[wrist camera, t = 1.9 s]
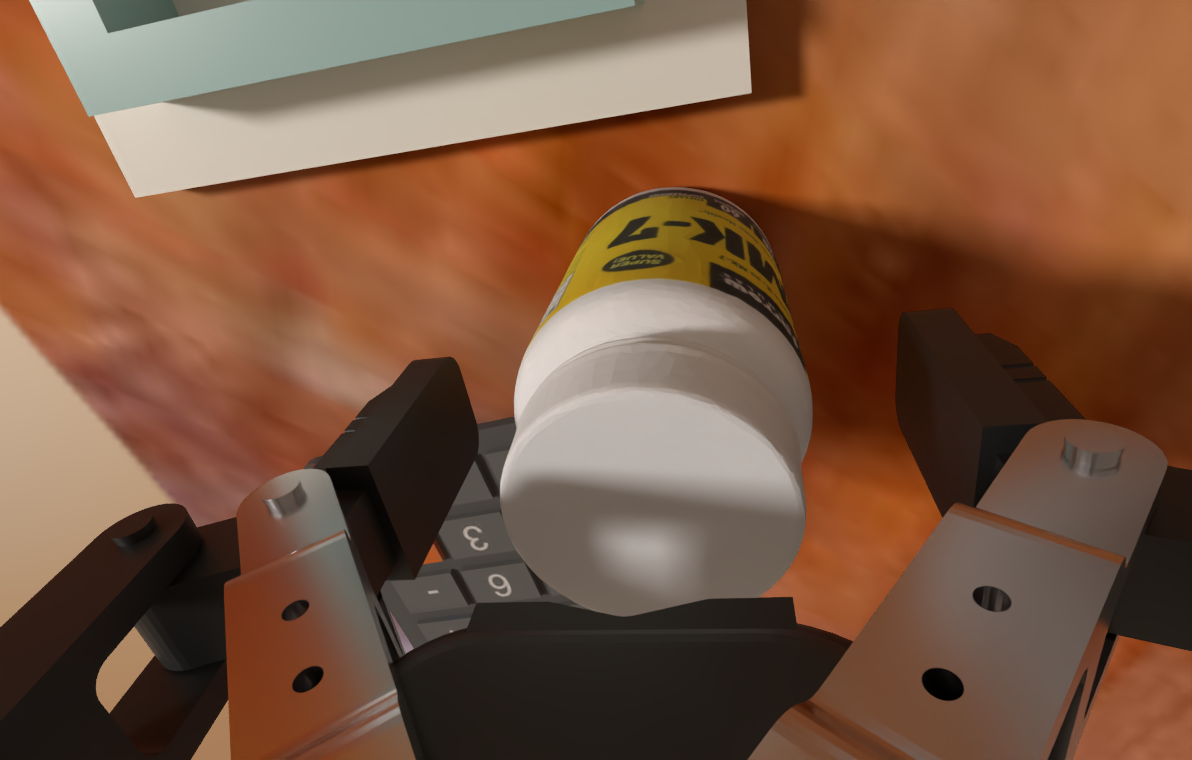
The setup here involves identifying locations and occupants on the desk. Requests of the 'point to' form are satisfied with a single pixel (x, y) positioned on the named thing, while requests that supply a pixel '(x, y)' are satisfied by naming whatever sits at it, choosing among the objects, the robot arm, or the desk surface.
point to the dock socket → (373, 74)
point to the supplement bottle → (662, 414)
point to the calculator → (468, 554)
